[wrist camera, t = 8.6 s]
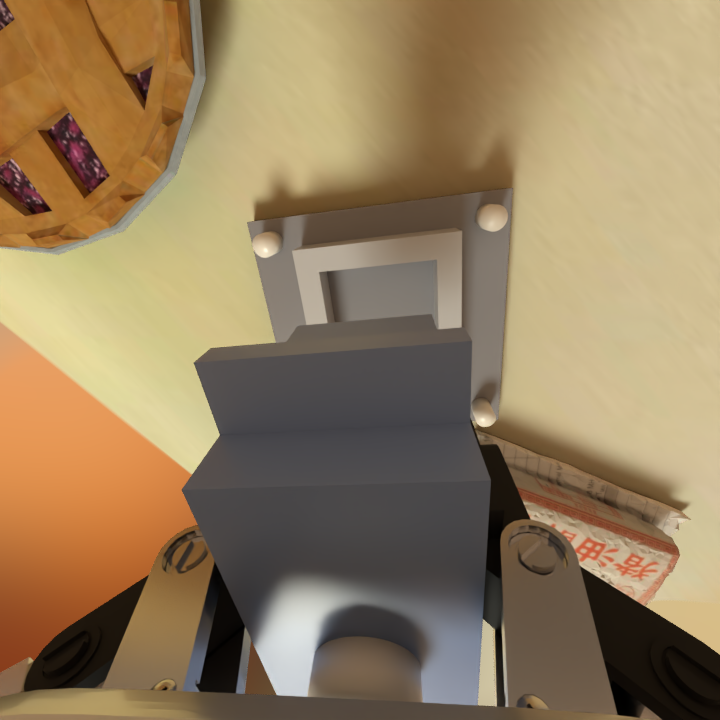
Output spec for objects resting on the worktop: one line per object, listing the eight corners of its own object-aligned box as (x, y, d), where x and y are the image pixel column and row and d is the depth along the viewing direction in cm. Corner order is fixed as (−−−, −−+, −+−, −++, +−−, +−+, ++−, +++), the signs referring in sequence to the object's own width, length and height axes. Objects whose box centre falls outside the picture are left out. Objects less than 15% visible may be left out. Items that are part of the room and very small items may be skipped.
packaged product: (416, 563, 25) (490, 470, 20) (413, 508, 29) (473, 422, 25) (627, 638, 26) (736, 566, 22) (594, 576, 31) (680, 505, 26)
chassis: (506, 188, 18) (526, 186, 15) (494, 411, 24) (507, 438, 21) (253, 221, 20) (231, 224, 17) (300, 420, 25) (289, 447, 23)
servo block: (430, 267, 10) (521, 426, 3) (437, 502, 15) (483, 796, 7) (288, 281, 11) (95, 446, 4) (334, 504, 15) (286, 781, 8)
